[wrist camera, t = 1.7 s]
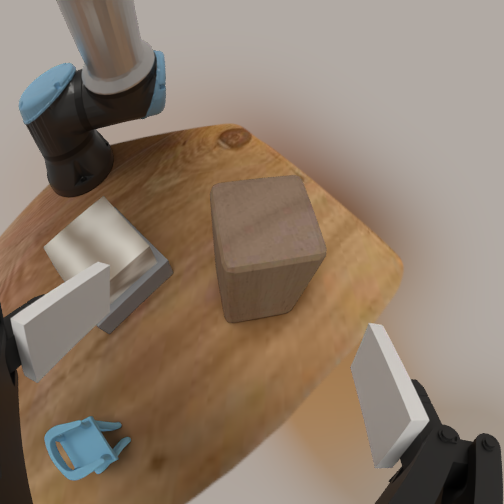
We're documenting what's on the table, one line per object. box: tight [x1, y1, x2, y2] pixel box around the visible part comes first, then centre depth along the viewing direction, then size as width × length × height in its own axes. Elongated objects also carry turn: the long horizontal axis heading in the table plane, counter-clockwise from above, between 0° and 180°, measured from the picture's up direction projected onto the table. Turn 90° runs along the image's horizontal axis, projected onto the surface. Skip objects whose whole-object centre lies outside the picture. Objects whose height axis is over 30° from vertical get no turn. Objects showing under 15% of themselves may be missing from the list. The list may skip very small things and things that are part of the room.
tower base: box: [52, 207, 173, 334], centre depth 44 cm, size 14×14×5 cm
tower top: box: [43, 196, 157, 304], centre depth 40 cm, size 12×12×5 cm
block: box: [210, 175, 326, 323], centre depth 38 cm, size 10×10×20 cm
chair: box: [45, 416, 131, 480], centre depth 29 cm, size 8×8×12 cm
